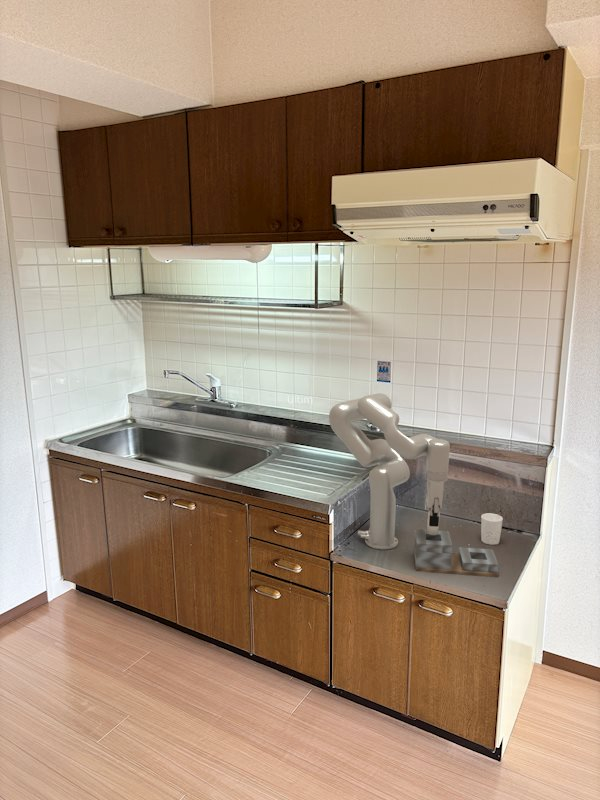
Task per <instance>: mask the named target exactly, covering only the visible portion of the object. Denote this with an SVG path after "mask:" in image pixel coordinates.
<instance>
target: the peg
mask: <svg viewBox="0 0 600 800" xmlns="http://www.w3.org/2000/svg"><path fill="white" fill-rule="evenodd" d="M440 514H441V512H440V511H439V517H440V516H441V515H440ZM430 515H431V509H428V511H427V522H426V523H427V525H426V526H427V527H426V530H427V533H428V534H430V535H437V534H438V531H440V529H439V526H440V524H439V525H438V527H435V526H429V519H430Z"/></svg>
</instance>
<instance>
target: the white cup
mask: <svg viewBox="0 0 600 800" xmlns="http://www.w3.org/2000/svg"><path fill="white" fill-rule="evenodd" d="M480 517H481V518H480V519H481V523H480V531H481V532H480V535H481V536H480V538H481V542H482V543H483V544H487V545H492V546H495V545H498V544H500V540H501V535H502V534H501V533H502V528H503V522H504V521H503V516H501V514H496V513H491V512H489V513H483V514H481V516H480Z"/></svg>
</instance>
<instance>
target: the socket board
mask: <svg viewBox="0 0 600 800" xmlns="http://www.w3.org/2000/svg"><path fill="white" fill-rule="evenodd" d="M413 547H414V549H413V555H414V567H415V572H422V571H423V572H424V573H436V574H438V573H439V574H451V575H452V574H453V575H464V576H465V575H467V576H477V577H479V576H480V577H491V578H492V577H494V578H498V577H499V562H498V560H497V557H496V555H495V552H494V549H491V548H476V547H475V548H474V547H462V546H461V547H460V546H459V547H458V553H455V552H454V553H453V543H452V539H451V534H450V531H448V530H438V534H437V535H430V534H428V533H427V529H418V528H416V529H415V530H414V546H413ZM423 572H422V573H423Z"/></svg>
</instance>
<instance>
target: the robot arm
mask: <svg viewBox="0 0 600 800" xmlns="http://www.w3.org/2000/svg"><path fill="white" fill-rule="evenodd" d="M392 406H393V405H392V401H391V399H390V397H388V396H387V394H385V393H381V392H380V393H379V392H378V393H374V394H369V395H365V396H363V397H361V398H356V399H351V400H347V401H342V402H340V403H336V404H335V405H333V406H332V407H331V408H330V411H329V415H328V419H329V420H328V421H329V424H330V427H331V430H332V432H333V433H334V434H335V435H336V436H337V437H338V438H339V439H340V440H341V442H342V443H344V445H345V446H346V448H347V449H348V450H349V452H350V453H351V454H352V456H353V457H354V458H355V460H356V461H357V462H358V463H359V464H360V465H361V466H363V467H364V468H370V467H373V466H374V467H373V468H372V469H371V470H370V472H369V473H368V474H369V475H368V483H369V489H370V490H369V491H370V511H369V528H368V530H357V536H360V538H362V539H364V541H365V542H364V543H365V544H366V545H367V546H368V547H370V548H372V549H375V550H376V549H377V550H391V549H395V548H396V547H398V544H399V540H398V538H397V537H396V536H395V533H396V531H395V529H396V527H395V526H396V503H397V500H396V499H397V498H396V495H395V492H394V489H393V488H395V487H397V486H399V485H401V484H404V483H405V482H407V481H408V480H409V478H410V476H411V475H410V474H411V472H410V467H409V465H408V464H407V462H406V460H404V459H407V460H414V459H417V458H420V457H423V456H424V457H425V456H426V464H425V465H426V467H425V479H426V481H427V485H426V492H425V493H426V494H425V495H426V496H425V502H426V507H427V509H428V510H431V515H430V519H429V526H435V527H438V525H439V526H440V516H439V512H440V510H441V509H442V507H443V500H444V499H443V498H444V486H445V485H444V484H445V482H447V481H448V476H449V464H450V450H451V449H450V447H451V444H450V442H449V441H448V440H445V439H442V438H437V437H435V436H432V435H430V434H428V433H420V434H417V435H414V436H410V437H408V436H407V435H405V434H403V433H402V431H400V430H399V429H398V425H399V423H400V416H399V414H398V413H396V411H393V410H392ZM362 420H366V421H368V422H369V423H370V424H372V425H373V426H375V427H376V428H377V429H378V430H379V431H381V432H382V433H383V437H384V439H383V438H376V439H372V440H371V439H369V437H367V435H366V434H365V433H364V431H363V430H361V429H360V428H359V427H357V426H356V425H354V424H353V423H355V422H359V421H362Z"/></svg>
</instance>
